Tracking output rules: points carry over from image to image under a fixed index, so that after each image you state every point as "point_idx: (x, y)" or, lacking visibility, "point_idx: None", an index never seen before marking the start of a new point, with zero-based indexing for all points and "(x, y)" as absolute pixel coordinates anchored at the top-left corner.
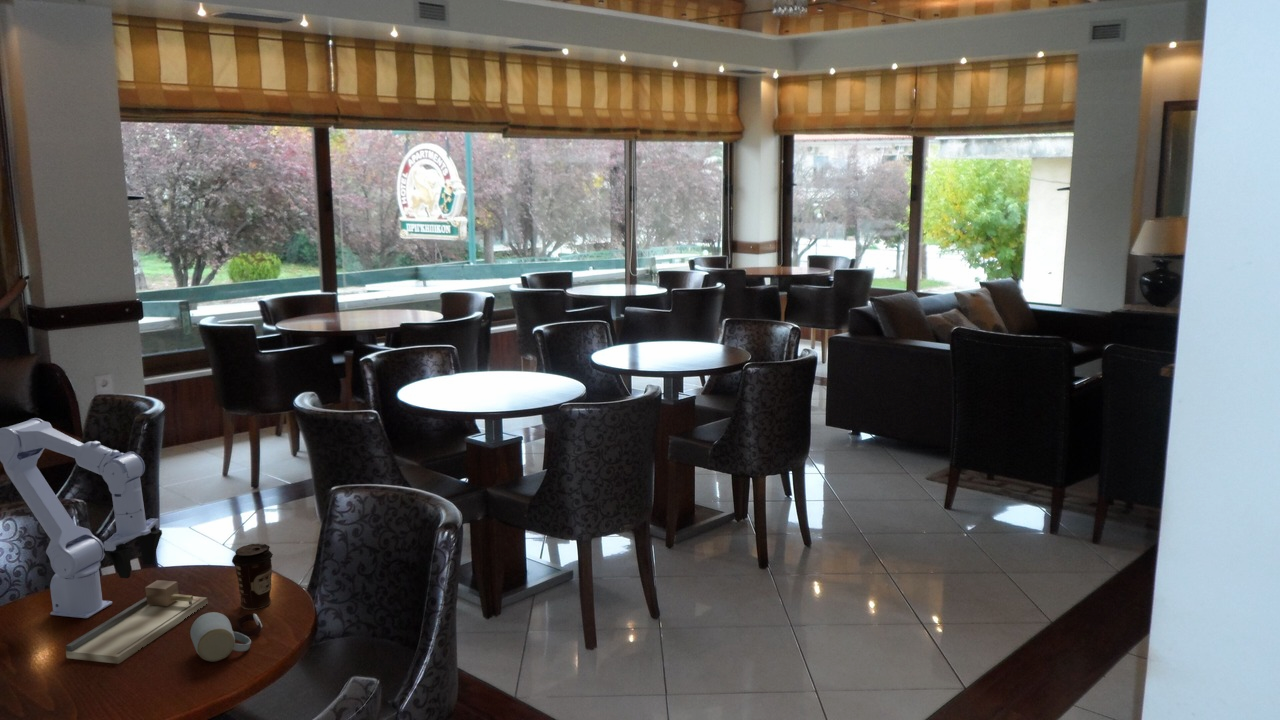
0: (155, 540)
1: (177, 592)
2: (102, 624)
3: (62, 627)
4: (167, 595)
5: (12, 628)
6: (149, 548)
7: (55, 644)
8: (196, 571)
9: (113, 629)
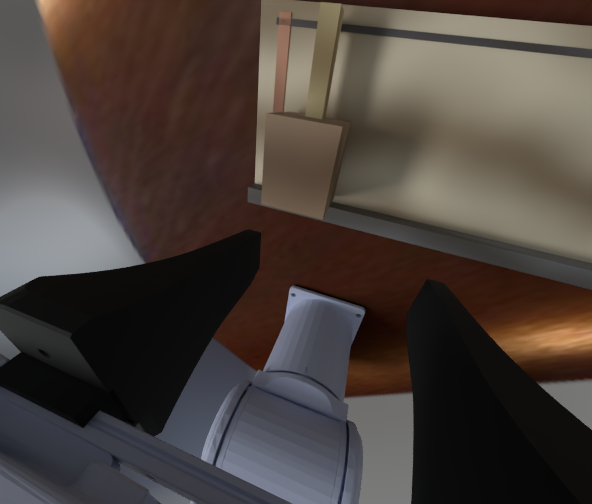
0: (148, 289)
1: (287, 112)
2: (505, 262)
3: (401, 334)
4: (338, 123)
5: (391, 392)
6: (209, 290)
7: (502, 328)
8: (122, 180)
9: (508, 225)
